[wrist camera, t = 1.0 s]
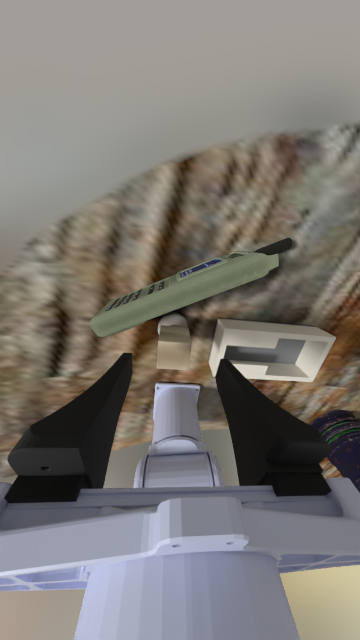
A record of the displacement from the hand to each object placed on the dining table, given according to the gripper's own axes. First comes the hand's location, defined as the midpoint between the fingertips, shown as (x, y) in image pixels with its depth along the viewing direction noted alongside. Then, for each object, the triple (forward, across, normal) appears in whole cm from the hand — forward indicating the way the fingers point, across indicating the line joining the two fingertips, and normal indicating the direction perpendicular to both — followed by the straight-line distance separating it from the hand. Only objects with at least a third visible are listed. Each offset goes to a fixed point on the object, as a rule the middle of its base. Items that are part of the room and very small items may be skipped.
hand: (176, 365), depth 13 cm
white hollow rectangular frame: (+11, -14, +5) cm, 19 cm away
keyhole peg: (+12, 0, +3) cm, 12 cm away
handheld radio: (+13, -2, -4) cm, 14 cm away
